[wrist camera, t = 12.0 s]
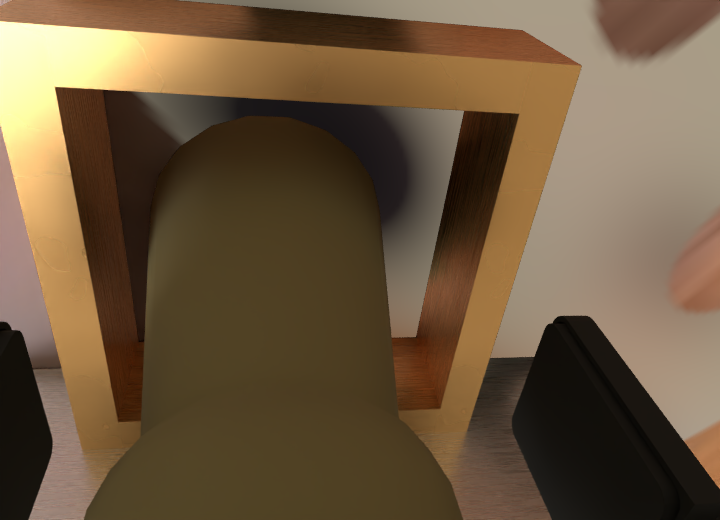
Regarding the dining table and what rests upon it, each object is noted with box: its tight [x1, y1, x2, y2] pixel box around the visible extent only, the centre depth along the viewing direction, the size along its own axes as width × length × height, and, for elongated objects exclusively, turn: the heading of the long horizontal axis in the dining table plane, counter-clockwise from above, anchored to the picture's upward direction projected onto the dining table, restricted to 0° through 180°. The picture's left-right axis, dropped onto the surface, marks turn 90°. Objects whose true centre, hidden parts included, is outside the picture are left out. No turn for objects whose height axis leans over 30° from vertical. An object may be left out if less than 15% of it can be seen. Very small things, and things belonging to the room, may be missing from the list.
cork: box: [84, 116, 463, 520], centre depth 11 cm, size 6×6×11 cm
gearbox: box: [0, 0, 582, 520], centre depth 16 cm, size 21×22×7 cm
